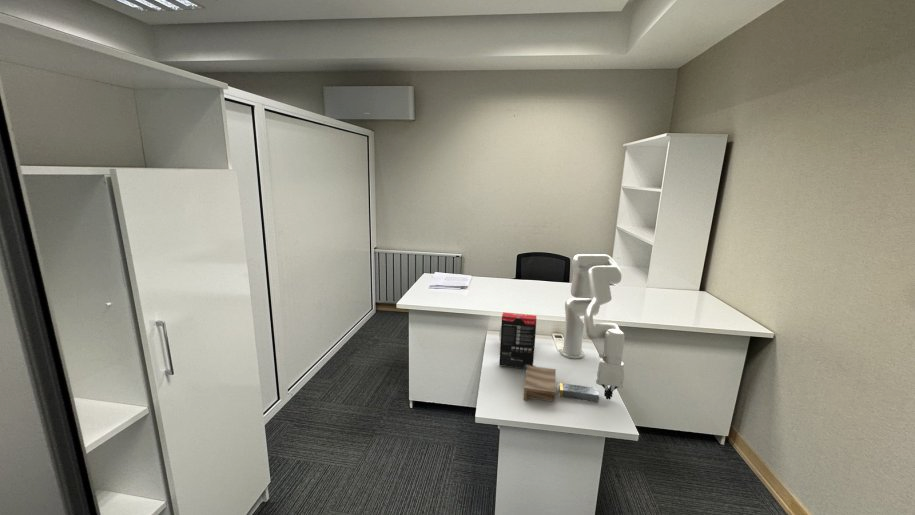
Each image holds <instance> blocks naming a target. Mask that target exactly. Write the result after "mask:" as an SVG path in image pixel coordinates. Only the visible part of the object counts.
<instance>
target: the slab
mask: <svg viewBox="0 0 915 515" xmlns="http://www.w3.org/2000/svg"><path fill="white" fill-rule="evenodd" d="M558 391H559V392H558V394H559V398H562V399H570V400H577V401H578V400H579V401H586V402H592V403H599V401H600V400H599V398H600V393H599V389H598V387H594V386H593V387H592V386H587V385H586V386H585V385H580V384H572V383H571V384H570V383H564V382H559V388H558Z"/></svg>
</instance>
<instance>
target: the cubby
mask: <svg viewBox="0 0 915 515" xmlns="http://www.w3.org/2000/svg"><path fill="white" fill-rule="evenodd" d="M556 371H557V370H556V369H555V368H548V367H542V366H541V367H540V366H535V365H533V366H527V369H526V373H525V374H526V375H525V380H524V384H523V385H524V386H523V401H526V402H527V399H528V398H529V399H535V400H541V401H548V402H556V401H555V399H556V391H557V390H556V388H557V387H556V385H557V383H556V382H557V380H556V379H557V376H556V373H557V372H556Z"/></svg>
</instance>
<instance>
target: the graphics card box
mask: <svg viewBox="0 0 915 515" xmlns="http://www.w3.org/2000/svg"><path fill="white" fill-rule="evenodd" d="M500 327H501V341H499V342H500V345H499V346H500V348H499V361H498V362H499V366H501V367H508V368H515V369H523V370H527V366H534V359H535V358H534V357H535V345H536V335H537V332H536V331H537V330H536V329H537V315H533V314H522V313H515V312H514V313H511V312H502V315H501V325H500Z"/></svg>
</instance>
